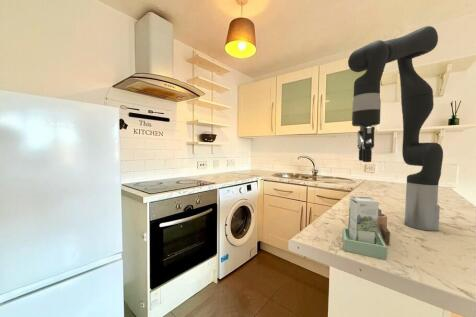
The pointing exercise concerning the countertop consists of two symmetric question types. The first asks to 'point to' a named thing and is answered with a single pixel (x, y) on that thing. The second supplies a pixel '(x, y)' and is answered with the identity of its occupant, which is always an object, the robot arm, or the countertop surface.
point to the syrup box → (363, 219)
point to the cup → (382, 220)
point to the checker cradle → (385, 234)
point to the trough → (365, 246)
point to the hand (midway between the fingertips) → (364, 161)
